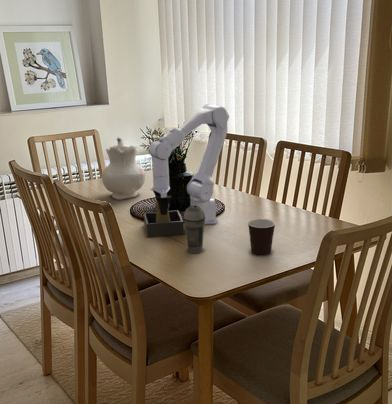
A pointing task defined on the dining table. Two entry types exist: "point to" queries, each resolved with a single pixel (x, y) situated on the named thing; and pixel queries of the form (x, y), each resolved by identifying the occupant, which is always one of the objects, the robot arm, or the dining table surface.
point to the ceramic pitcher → (123, 172)
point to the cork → (160, 217)
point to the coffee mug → (261, 236)
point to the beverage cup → (194, 227)
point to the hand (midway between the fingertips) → (162, 211)
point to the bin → (163, 225)
